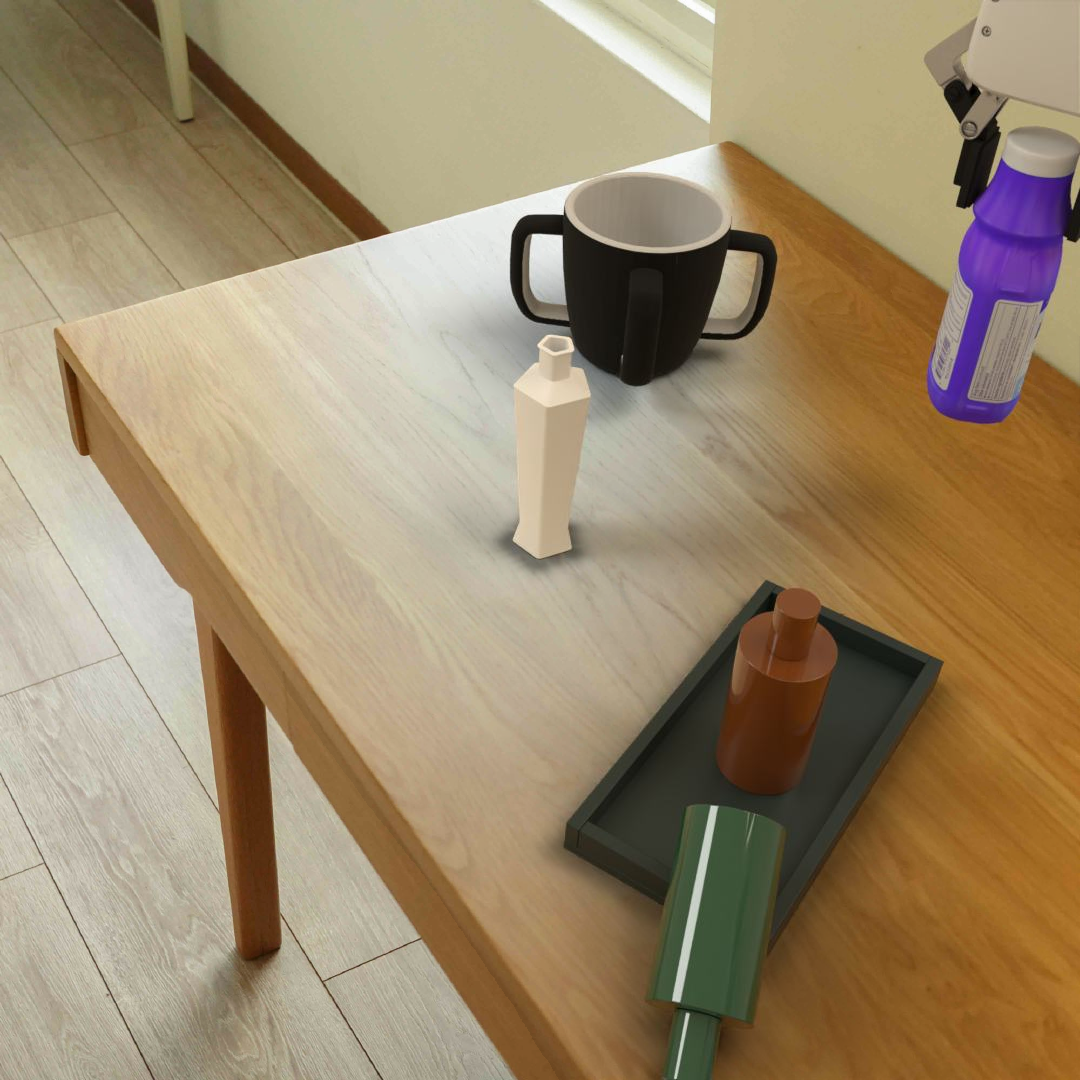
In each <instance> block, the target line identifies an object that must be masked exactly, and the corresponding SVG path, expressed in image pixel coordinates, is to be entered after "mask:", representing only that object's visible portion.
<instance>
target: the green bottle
mask: <svg viewBox="0 0 1080 1080" xmlns="http://www.w3.org/2000/svg"><path fill="white" fill-rule="evenodd" d="M786 838H787V830H786V829H785V828H784V827H783V826H782V825H780V824H779V823H777V822H775V821H773V820H771V819H769V818H767V817H764V816H761V815H759V814H755V813H752V812H749V811H745V810H741V809H737V808H732V807H726V806H719V805H708V804H699V805H691V806H688V807H686V808H684V810H683V814H682V819H681V824H680V829H679V834H678V839H677V843H676V848H675V853H674V858H673V863H672V868H671V873H670V877H669V882H668V887H667V892H666V897H665V902H664V906H663V908H662V911H661V917H660V922H659V927H658V932H657V935H656V936H657V937H656V941H655V946H654V951H653V954H652V955H653V956H652V960H651V966H650V971H649V977H648V980H647V985H646V990H645V995H644V999H643V1000H644V1003H646V1004H647V1005H649V1006H651V1007H653V1008H655V1009H658V1010H661V1011H663V1012H666V1013H670V1014H672V1019H671V1024H670V1029H669V1035H668V1040H667V1043H666V1044H667V1045H666V1049H665V1055H664V1061H663V1065H662V1070H661V1074H660V1075H661V1076H660V1077H661V1079H662V1080H713V1076H714V1071H715V1067H716V1066H715V1065H716V1059H717V1054H718V1048H719V1044H720V1037H721V1033H722V1027H724V1028H725V1027H726V1028H732V1029H740V1030H752V1029H754V1028H755V1023H756V1018H757V1012H758V1006H759V999H760V994H761V988H762V982H763V978H764V971H765V964H766V961H767V959H766V954H767V949H768V943H769V937H770V931H771V925H772V920H773V914H774V908H775V902H776V896H777V891H778V885H779V879H780V873H781V867H782V862H783V856H784V850H785V844H786Z"/></svg>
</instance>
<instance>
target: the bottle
mask: <svg viewBox="0 0 1080 1080" xmlns="http://www.w3.org/2000/svg"><path fill="white" fill-rule="evenodd" d="M1079 159H1080V142H1079V140H1078V139H1077V138H1076V137H1074V136H1073V135H1071V134H1069V133H1067V132H1065V131H1062V130H1059V129H1056V128H1051V127H1047V126H1039V125H1029V126H1028V125H1027V126H1019V127H1017V128H1014V129H1012V130H1011V131H1009V132H1008V134H1007V135H1006V139H1005V141H1004V146H1003V149H1002V152H1001V155H1000V159H999V162H998V165H997V168H996V171H995V172H994V175H993V177H992V178H991V180H990V182H989V183H988V184H987V187H986V188H985V189H984V190H983V191H982V192H981V193H980V194H979V195H978V196H977V197H976V199H975V201H974V203H973V205H972V213H973V216H974V217H975V218H974V219H973V220H972V222H970V225H969V227H968V228H967V230H966V232H965V233H964V236H963V239H962V241H961V244H960V246H959V247H960V249H959V253H958V258H957V263H956V268H955V271H954V275H953V278H952V282H951V286H950V290H949V294H948V297H947V299H946V304H945V306H944V311H943V314H942V318H941V322H940V325H939V328H938V332H937V335H936V339H935V342H934V346H933V349H932V352H931V354H930V357H929V360H928V365H927V371H926V388H927V394H928V397H929V400H930V402H931V404H932V406H933V408H934V409H935V410H936V411H937V412H938V413H939V414H941V415H942V416H945V417H946V418H949V419H952V420H954V421H957V422H963V423H972V424H977V425H991V424H998V423H999V424H1000V423H1002V422H1004V420H1005V419H1007V418H1008V416H1010V415H1011V413H1012V412H1013V410H1014V409H1015V408H1016V405H1017V404H1018V401H1019V399H1020V396H1021V392H1022V387H1023V384H1024V380H1025V377H1026V374H1027V371H1028V368H1029V365H1030V361H1031V359H1032V355H1033V352H1034V349H1035V346H1036V343H1037V339H1038V337H1039V333H1040V329H1041V327H1042V324H1043V320H1044V318H1045V316H1046V312H1047V308H1048V306H1049V303H1050V300H1051V296H1052V294H1053V292H1054V291H1055V288H1056V286H1057V283H1058V280H1059V276H1060V271H1061V267H1062V266H1061V264H1062V261H1063V250H1064V235H1065V232H1066V228H1067V225H1068V222H1069V219H1070V216H1071V213H1072V210H1073V205H1072V197H1071V194H1072V184H1073V180H1074V176H1075V173H1076V169H1077V165H1078V162H1079Z"/></svg>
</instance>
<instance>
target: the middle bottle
mask: <svg viewBox="0 0 1080 1080" xmlns="http://www.w3.org/2000/svg"><path fill="white" fill-rule="evenodd" d="M821 605H822V604H821V601H820V599H819V597H818V596H816V594H814V593H813V592H811V591H810V590H807V589H805V588H801V587H789V588H786V589H785V590H783V591H782V592H780V593H779V594H778V596H777V598H776V603H775V607H774V611H772V612H766V613H763V614H760V615H757V616H755V617H753V618H752V619H750V620H749V621H748V622H747V623H746V624H745V625H744V626H743V628H742V629H741V632H740V635H739V640H738V644H737V649H736V654H735V659H734V664H733V668H732V673H731V678H730V683H729V687H728V692H727V697H726V702H725V706H724V711H723V716H722V721H721V725H720V730H719V735H718V740H717V744H716V749H715V758H716V762H717V765H718V767H719V769H720V771H721V773H722V774H723V775H724V776H725V778H726V779H727V780H729V781H730V782H731V783H732V784H734V785H735V786H737V787H738V788H740V789H742V790H744V791H747V792H750V793H753V794H758V795H777V794H781V793H785V792H787V791H789V790H791V789H793V788H794V787H795V786H796V785H798V784H799V783H800V781H801V780H802V778H803V776H804V774H805V771H806V767H807V764H808V760H809V757H810V753H811V750H812V746H813V743H814V739H815V736H816V732H817V729H818V725H819V721H820V718H821V714H822V711H823V707H824V704H825V700H826V697H827V693H828V690H829V686H830V683H831V679H832V676H833V672H834V669H835V665H836V661H837V657H838V650H837V646H836V643H835V641H834V639H833V637H832V636H831V634H830V633H829V632H828V631H827V630H826V629H825V628H824V627H823V626H822V625H821V624H819V623H818V618H819V614H820V610H821Z"/></svg>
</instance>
